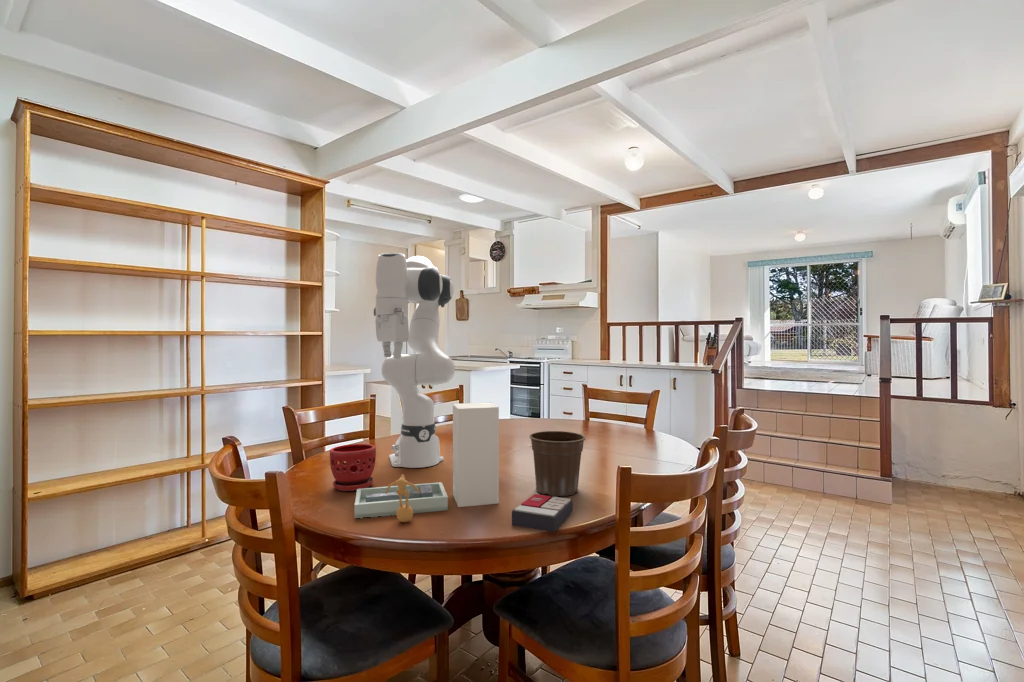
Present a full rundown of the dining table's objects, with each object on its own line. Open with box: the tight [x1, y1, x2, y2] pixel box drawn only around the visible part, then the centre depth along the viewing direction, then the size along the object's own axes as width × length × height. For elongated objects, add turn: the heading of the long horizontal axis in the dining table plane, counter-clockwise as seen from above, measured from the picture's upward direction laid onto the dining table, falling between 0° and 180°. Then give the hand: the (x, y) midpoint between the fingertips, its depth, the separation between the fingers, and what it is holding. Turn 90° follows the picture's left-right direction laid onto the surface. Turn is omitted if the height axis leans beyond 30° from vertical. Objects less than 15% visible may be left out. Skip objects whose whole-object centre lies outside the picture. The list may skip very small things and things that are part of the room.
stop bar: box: [366, 485, 433, 503], centre depth 127 cm, size 7×17×3 cm, turn 105°
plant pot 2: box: [529, 430, 586, 497], centre depth 140 cm, size 16×16×16 cm
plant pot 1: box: [329, 443, 377, 492], centre depth 144 cm, size 13×13×12 cm
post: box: [452, 402, 500, 508], centre depth 132 cm, size 10×11×26 cm
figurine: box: [386, 474, 420, 523], centre depth 115 cm, size 8×6×12 cm
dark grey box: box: [511, 493, 574, 533], centre depth 119 cm, size 11×4×15 cm
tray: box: [354, 481, 449, 519], centre depth 127 cm, size 13×23×4 cm, turn 105°
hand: (392, 358), depth 136 cm, fingers open, 8 cm apart
